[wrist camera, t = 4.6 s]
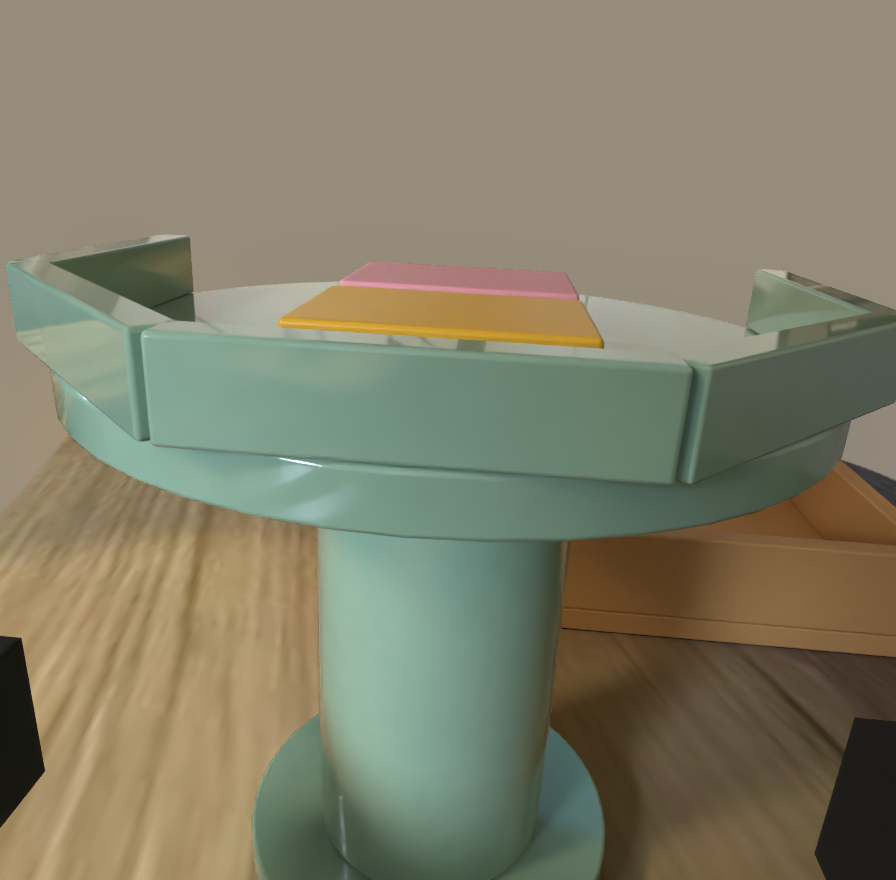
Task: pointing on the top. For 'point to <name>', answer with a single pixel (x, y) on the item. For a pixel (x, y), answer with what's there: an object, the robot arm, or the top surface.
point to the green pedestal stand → (443, 515)
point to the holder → (753, 576)
